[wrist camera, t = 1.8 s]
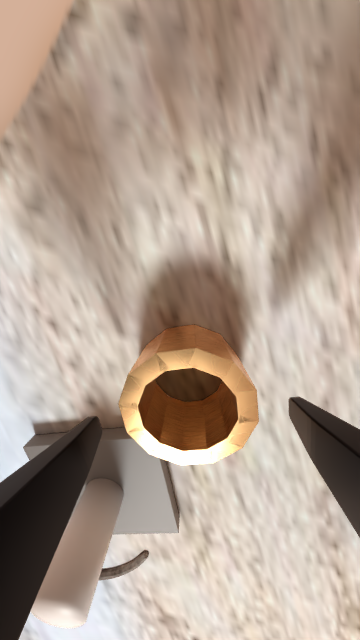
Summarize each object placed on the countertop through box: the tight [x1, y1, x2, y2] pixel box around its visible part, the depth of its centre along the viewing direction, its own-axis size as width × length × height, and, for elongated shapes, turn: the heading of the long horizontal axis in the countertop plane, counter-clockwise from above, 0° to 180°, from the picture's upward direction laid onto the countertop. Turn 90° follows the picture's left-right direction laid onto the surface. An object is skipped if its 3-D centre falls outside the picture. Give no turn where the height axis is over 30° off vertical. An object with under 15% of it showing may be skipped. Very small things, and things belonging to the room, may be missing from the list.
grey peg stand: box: [23, 427, 179, 628], centre depth 12 cm, size 10×10×6 cm
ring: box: [119, 324, 259, 465], centre depth 10 cm, size 6×6×4 cm
